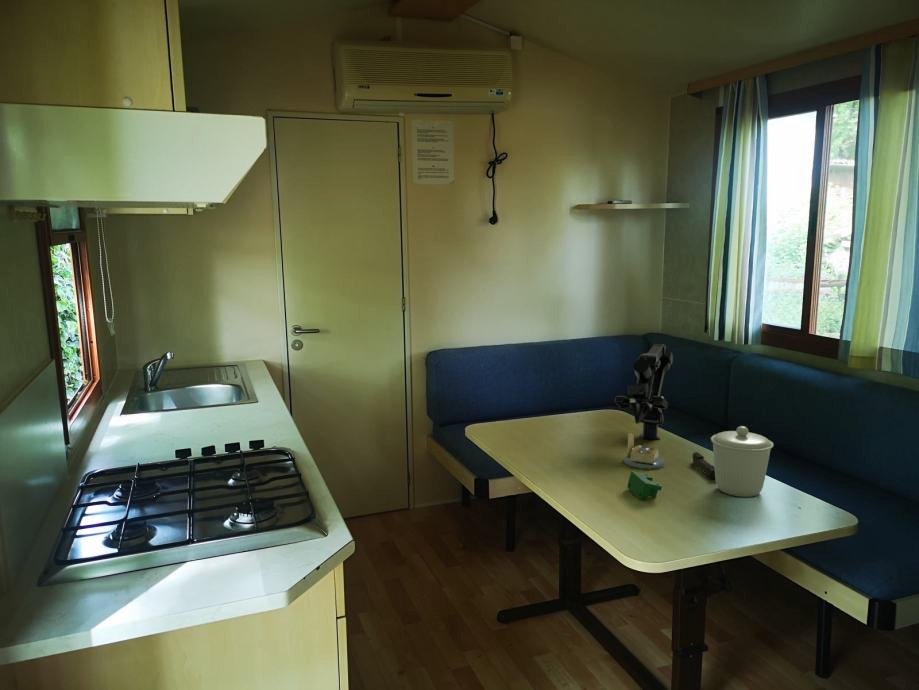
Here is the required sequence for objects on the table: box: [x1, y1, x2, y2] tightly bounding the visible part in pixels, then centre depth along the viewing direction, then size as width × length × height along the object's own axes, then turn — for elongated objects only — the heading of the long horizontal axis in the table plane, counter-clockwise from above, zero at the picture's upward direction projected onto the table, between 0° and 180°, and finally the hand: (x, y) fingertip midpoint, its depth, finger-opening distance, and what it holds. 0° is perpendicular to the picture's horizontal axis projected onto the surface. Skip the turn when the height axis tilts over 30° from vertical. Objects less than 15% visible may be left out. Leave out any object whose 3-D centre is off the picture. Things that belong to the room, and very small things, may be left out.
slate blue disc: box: [623, 446, 666, 470], centre depth 247 cm, size 14×14×6 cm
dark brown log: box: [692, 451, 716, 482], centre depth 239 cm, size 19×4×5 cm, turn 1°
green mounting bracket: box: [627, 471, 663, 501], centre depth 218 cm, size 12×6×9 cm, turn 3°
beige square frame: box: [626, 432, 659, 464], centre depth 247 cm, size 8×10×8 cm
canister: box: [710, 425, 774, 498], centre depth 219 cm, size 18×18×21 cm
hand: (637, 423), depth 256 cm, fingers closed
